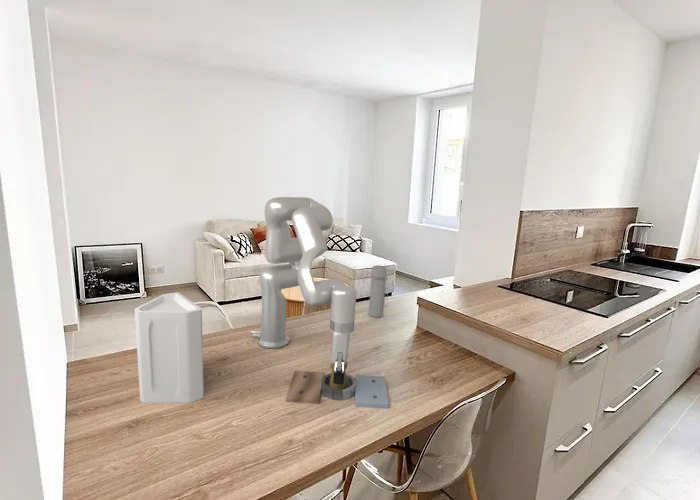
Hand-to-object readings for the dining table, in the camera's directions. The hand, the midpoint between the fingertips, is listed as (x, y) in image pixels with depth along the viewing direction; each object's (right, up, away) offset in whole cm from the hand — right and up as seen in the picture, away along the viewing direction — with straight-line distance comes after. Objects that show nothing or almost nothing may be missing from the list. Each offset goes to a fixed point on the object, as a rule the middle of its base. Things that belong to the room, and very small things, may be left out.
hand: (339, 375), depth 120 cm
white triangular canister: (-52, -4, -5) cm, 53 cm away
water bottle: (+17, +7, +67) cm, 69 cm away
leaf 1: (-7, -5, +1) cm, 9 cm away
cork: (-1, -5, +1) cm, 6 cm away
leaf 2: (+8, -6, +1) cm, 10 cm away
